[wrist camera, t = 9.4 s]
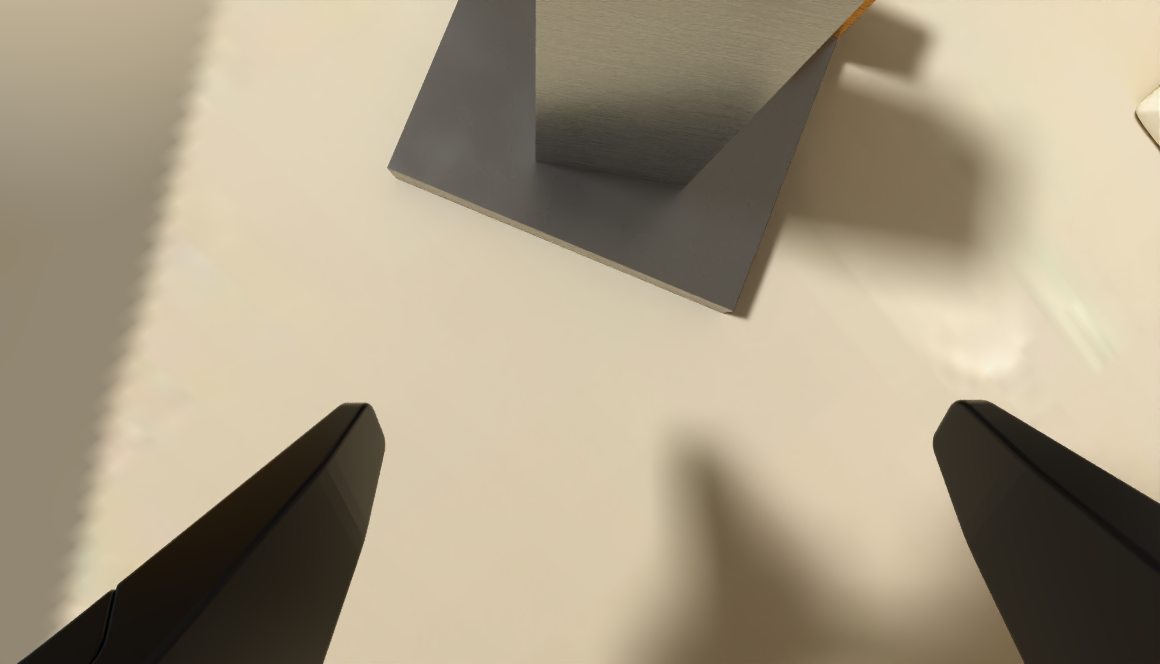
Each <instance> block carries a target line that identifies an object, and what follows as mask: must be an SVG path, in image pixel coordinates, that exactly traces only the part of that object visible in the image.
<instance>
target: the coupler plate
mask: <svg viewBox="0 0 1160 664" xmlns="http://www.w3.org/2000/svg"><path fill="white" fill-rule="evenodd" d="M874 2H875V0H865V1H864V2H863V3H862V4H861V5H860V6H859V7H858V8H857V9H856V11H855V12H854V13H853V14H852V15H851V16H850V17H849V18H848V19H847V20H846V21H845V22H844V23H843V24H842V25H841V26H840V27H839V28H838V29H837V30H836V31H835V32H834V33H833V34H832V35H831V36H830V37H829V38H828V40H827V41H826V42H825V43H824V44H823V45H822V46H821V47H820V48H819V49H818V50H817V51H816V52H815V53H814V54H813V55H812V56H811V57H810V58H809V59H808V60H807V61H806V62H805V63H804V64H803V65H802V66H801V68H800V69H799V70H798V71H797V72H796V73H795V74H794V75H793V76H792V77H791V78H790V79H789V80H788V81H787V82H786V83H785V84H784V85H783V86H782V87H781V88H780V89H779V90H778V91H777V92H776V93H775V94H774V95H773V97H772V98H771V99H770V100H769V101H768V102H767V103H766V104H765V105H764V106H763V107H762V108H761V109H760V110H759V111H758V112H757V113H756V114H755V115H754V116H753V117H752V118H751V119H750V120H749V121H748V122H747V123H746V124H745V126H744V127H743V128H742V129H741V130H740V131H739V132H738V133H737V134H736V135H735V136H734V137H733V138H732V139H731V140H730V141H729V142H728V143H727V144H726V145H725V146H724V147H723V148H722V149H721V150H720V151H719V152H718V154H717V155H716V156H715V157H714V158H713V159H712V160H711V161H710V162H709V163H708V164H707V165H706V166H705V167H704V168H703V169H702V170H701V171H700V172H699V173H698V174H697V175H696V176H695V177H694V178H693V179H692V180H691V181H690V183H689V184H688V185H687V186H686V185H679V184H673V183H667V182H661V181H654V180H648V179H642V178H636V177H629V176H623V175H617V174H611V173H605V172H598V171H592V170H586V169H580V168H573V167H567V166H561V165H555V164H548V163H542V162H536V161H535V118H536V0H458V3H457V5H456V7H455V10H454V12H453V14H452V17H451V19H450V21H449V24H448V26H447V28H446V31H445V33H444V36H443V38H442V40H441V43H440V45H439V47H438V50H437V52H436V54H435V57H434V59H433V61H432V64H431V66H430V69H429V71H428V73H427V76H426V78H425V80H424V83H423V85H422V87H421V90H420V92H419V94H418V97H417V99H416V101H415V104H414V106H413V109H412V111H411V113H410V116H409V118H408V120H407V123H406V125H405V127H404V130H403V132H402V134H401V137H400V139H399V142H398V144H397V146H396V149H395V151H394V153H393V156H392V158H391V160H390V163H389V165H388V167H387V168H388V169H389V170H390V172H391V173H392V174H393V175H394V176H395V178H397V179H400V180H402V181H405V182H407V183H409V184H412V185H414V186H417V187H419V188H421V189H424V190H426V191H429V192H431V193H434V194H436V195H438V196H441V197H443V198H446V199H448V200H451V201H453V202H455V203H458V204H460V205H463V206H465V207H467V208H470V209H472V210H475V211H477V212H480V213H482V214H484V215H487V216H489V217H492V218H494V219H497V220H499V221H501V222H504V223H506V224H509V225H511V226H513V227H516V228H518V229H521V230H523V231H526V232H528V233H530V234H533V235H535V236H538V237H540V238H542V239H545V240H547V241H550V242H552V243H555V244H557V245H559V246H562V247H564V248H567V249H569V250H572V251H574V252H576V253H579V254H581V255H584V256H586V257H588V258H591V259H593V260H596V261H598V262H601V263H603V264H605V265H608V266H610V267H613V268H615V269H617V270H620V271H622V272H625V273H627V274H630V275H632V276H634V277H637V278H639V279H642V280H644V281H647V282H649V283H651V284H654V285H656V286H659V287H661V288H663V289H666V290H668V291H671V292H673V293H676V294H678V295H680V296H683V297H685V298H688V299H690V300H693V301H695V302H697V303H700V304H702V305H705V306H707V307H709V308H712V309H714V310H717V311H719V312H722V313H725V312H731V311H734V308H735V306H736V303H737V300H738V298H739V295H740V292H741V290H742V287H743V285H744V282H745V279H746V277H747V274H748V272H749V269H750V266H751V264H752V261H753V258H754V256H755V253H756V251H757V248H758V245H759V243H760V240H761V238H762V235H763V232H764V230H765V227H766V224H767V222H768V219H769V217H770V214H771V211H772V209H773V206H774V204H775V201H776V198H777V196H778V193H779V190H780V188H781V185H782V183H783V180H784V177H785V175H786V172H787V170H788V167H789V164H790V162H791V159H792V156H793V154H794V151H795V149H796V146H797V143H798V141H799V138H800V136H801V133H802V130H803V128H804V125H805V122H806V120H807V117H808V115H809V112H810V109H811V107H812V104H813V102H814V99H815V96H816V94H817V91H818V88H819V86H820V83H821V81H822V78H823V75H824V73H825V70H826V68H827V65H828V62H829V60H830V57H831V54H832V52H833V49H834V47H835V44H836V41H837V39H838V38H839V37H840V36H841V35H842V34H843V33H844V32H845V31H846V30H847V29H848V28H849V27H850V26H851V25H852V24H853V23H854V22H855V21H856V20H857V19H858V18H859V17H860V16H861V15H862V14H863V13H864V12H865V11H866V10H867V9H868V8H869V7H870V6H871V5H872V4H873V3H874Z"/></svg>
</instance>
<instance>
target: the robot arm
mask: <svg viewBox="0 0 1160 664" xmlns="http://www.w3.org/2000/svg"><path fill="white" fill-rule="evenodd" d="M933 449H934V453H935V456H936V459H937V461H938V464H939V467H940V470H941V473H942V475H943V478H944V481H945V484H946V487H947V489H948V492H949V495H950V498H951V501H952V504H953V506H954V509H955V512H956V515H957V518H958V520H959V523H960V526H961V529H962V531H963V534H964V536H965V539H966V541H967V544H968V546H969V548H970V551H971V553H972V555H973V557H974V560H975V562H976V564H977V566H978V568H979V570H980V572H981V574H982V576H983V578H984V580H985V582H986V585H987V587H988V589H989V591H990V593H991V595H992V597H993V599H994V601H995V603H996V605H997V607H998V610H999V612H1000V614H1001V616H1002V618H1003V620H1004V622H1005V624H1006V626H1007V628H1008V630H1009V632H1010V634H1011V637H1012V639H1013V641H1014V643H1015V645H1016V647H1017V649H1018V651H1019V653H1020V655H1021V657H1022V659H1023V662H1024V664H1160V503H1158V502H1156V501H1155V500H1153V499H1151V498H1150V497H1148V496H1146V495H1145V494H1143V493H1141V492H1140V491H1138V490H1136V489H1135V488H1133V487H1131V486H1130V485H1128V484H1126V483H1125V482H1123V481H1121V480H1120V479H1118V478H1116V477H1115V476H1113V475H1111V474H1110V473H1108V472H1106V471H1105V470H1103V469H1101V468H1100V467H1098V466H1096V465H1095V464H1093V463H1091V462H1090V461H1088V460H1086V459H1085V458H1083V457H1081V456H1080V455H1078V454H1076V453H1075V452H1073V451H1071V450H1070V449H1068V448H1066V447H1065V446H1063V445H1061V444H1060V443H1058V442H1056V441H1055V440H1053V439H1051V438H1050V437H1048V436H1046V435H1045V434H1043V433H1041V432H1040V431H1038V430H1036V429H1035V428H1033V427H1031V426H1030V425H1028V424H1026V423H1025V422H1023V421H1021V420H1020V419H1018V418H1016V417H1015V416H1013V415H1011V414H1010V413H1008V412H1006V411H1005V410H1003V409H1001V408H1000V407H998V406H996V405H995V404H993V403H991V402H989V401H986V400H958V401H956V402H954V403H953V404H952V405H951V406H950V408H949V409H948V411H947V413H946V415H945V416H944V418H943V420H942V422H941V423H940V425H939V427H938V429H937V430H936V432H935V434H934V437H933ZM384 452H385V438H384V434H383V432H382V429H381V427H380V424H379V422H378V419H377V417H376V414H375V412H374V409H373V407H372V406H371V405H370V404H369V403H344V404H341V405H340V406H338V407H337V408H336V409H335V410H333V411H332V412H331V413H330V414H328V415H327V416H326V417H325V418H323V419H322V420H321V421H320V422H318V423H317V424H316V425H315V426H313V427H312V428H311V429H310V430H309V431H307V432H306V433H305V434H304V435H302V436H301V437H300V438H299V439H297V440H296V441H295V442H294V443H292V444H291V445H290V446H289V447H287V448H286V449H285V450H284V451H282V452H281V453H280V454H279V455H278V456H276V457H275V458H274V459H273V460H271V461H270V462H269V463H268V464H266V465H265V466H264V467H263V468H261V469H260V470H259V471H258V472H256V473H255V474H254V475H253V476H252V477H250V478H249V479H248V480H247V481H245V482H244V483H243V484H242V485H240V486H239V487H238V488H237V489H235V490H234V491H233V492H232V493H230V494H229V495H228V496H227V497H226V498H224V499H223V500H222V501H221V502H219V503H218V504H217V505H216V506H214V507H213V508H212V509H211V510H209V511H208V512H207V513H206V514H204V515H203V516H202V517H201V518H200V519H198V520H197V521H196V522H195V523H193V524H192V525H191V526H190V527H188V528H187V529H186V530H185V531H183V532H182V533H181V534H180V535H178V536H177V537H176V538H175V539H173V540H172V541H171V542H170V543H169V544H167V545H166V546H165V547H164V548H162V549H161V550H160V551H159V552H157V553H156V554H155V555H154V556H152V557H151V558H150V559H149V560H147V561H146V562H145V563H144V564H143V565H141V566H140V567H139V568H138V569H136V570H135V571H134V572H133V573H131V574H130V575H129V576H128V577H126V578H125V579H124V580H123V581H121V582H120V583H119V584H118V585H117V588H116V590H110V591H109V592H108V593H106V594H105V595H104V596H103V597H101V598H100V599H99V600H98V601H96V602H95V603H94V604H93V605H91V606H90V607H89V608H88V609H86V610H85V611H84V612H83V613H82V614H80V615H79V616H78V617H76V618H75V619H74V620H73V621H71V622H70V623H69V624H68V625H66V626H65V627H64V628H62V629H61V630H60V631H59V632H57V633H56V634H55V635H54V636H52V637H51V638H50V639H48V640H47V641H46V642H45V643H43V644H42V645H41V646H39V647H38V648H37V649H36V650H34V651H33V652H32V653H31V654H29V655H28V656H27V657H25V658H24V659H23V660H21V661H20V662H19V663H17V664H323V662H324V660H325V657H326V654H327V651H328V648H329V645H330V642H331V639H332V636H333V633H334V630H335V627H336V624H337V621H338V618H339V615H340V612H341V609H342V607H343V604H344V601H345V598H346V595H347V592H348V589H349V586H350V583H351V580H352V577H353V574H354V571H355V568H356V565H357V562H358V559H359V556H360V553H361V550H362V547H363V544H364V540H365V537H366V533H367V529H368V525H369V520H370V515H371V511H372V506H373V502H374V497H375V493H376V488H377V484H378V479H379V475H380V470H381V466H382V461H383V456H384Z"/></svg>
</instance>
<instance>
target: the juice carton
mask: <svg viewBox="0 0 1160 664" xmlns="http://www.w3.org/2000/svg"><path fill="white" fill-rule="evenodd" d="M1136 113H1137V115H1138V117H1139V119H1140V120H1141V122H1142V124H1143V125H1144V127H1145V128H1146V129H1147V130H1148V132H1149V133H1150V134H1151V136H1152V137H1153V138H1154V140H1155V141H1156V142H1157V143H1158V144H1159V146H1160V85H1159V86H1158V87H1157V88H1156V89H1155V90H1154V91H1153V92H1152V93H1151V94H1150V95H1149V96H1148V97H1146V98H1145V99H1144V100H1143V101H1142V103H1141V104H1140V105H1139V106H1138V107H1137V110H1136Z"/></svg>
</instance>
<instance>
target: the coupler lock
mask: <svg viewBox="0 0 1160 664" xmlns="http://www.w3.org/2000/svg"><path fill="white" fill-rule="evenodd" d="M864 1H865V0H536V118H535V161H536V162H542V163H548V164H555V165H561V166H567V167H573V168H580V169H586V170H592V171H598V172H605V173H611V174H617V175H623V176H629V177H636V178H642V179H648V180H654V181H661V182H667V183H673V184H679V185H686V186H687V185H688V184H689V183H690V181H691V180H692V179H693V178H694V177H695V176H696V175H697V174H698V173H699V172H700V171H701V170H702V169H703V168H704V167H705V166H706V165H707V164H708V163H709V162H710V161H711V160H712V159H713V158H714V157H715V156H716V155H717V154H718V152H719V151H720V150H721V149H722V148H723V147H724V146H725V145H726V144H727V143H728V142H729V141H730V140H731V139H732V138H733V137H734V136H735V135H736V134H737V133H738V132H739V131H740V130H741V129H742V128H743V127H744V126H745V124H746V123H747V122H748V121H749V120H750V119H751V118H752V117H753V116H754V115H755V114H756V113H757V112H758V111H759V110H760V109H761V108H762V107H763V106H764V105H765V104H766V103H767V102H768V101H769V100H770V99H771V98H772V97H773V95H774V94H775V93H776V92H777V91H778V90H779V89H780V88H781V87H782V86H783V85H784V84H785V83H786V82H787V81H788V80H789V79H790V78H791V77H792V76H793V75H794V74H795V73H796V72H797V71H798V70H799V69H800V68H801V66H802V65H803V64H804V63H805V62H806V61H807V60H808V59H809V58H810V57H811V56H812V55H813V54H814V53H815V52H816V51H817V50H818V49H819V48H820V47H821V46H822V45H823V44H824V43H825V42H826V41H827V40H828V38H829V37H830V36H831V35H832V34H833V33H834V32H835V31H836V30H837V29H838V28H839V27H840V26H841V25H842V24H843V23H844V22H845V21H846V20H847V19H848V18H849V17H850V16H851V15H852V14H853V13H854V12H855V11H856V9H857V8H858V7H859V6H860V5H861V4H862V3H863V2H864Z"/></svg>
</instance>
